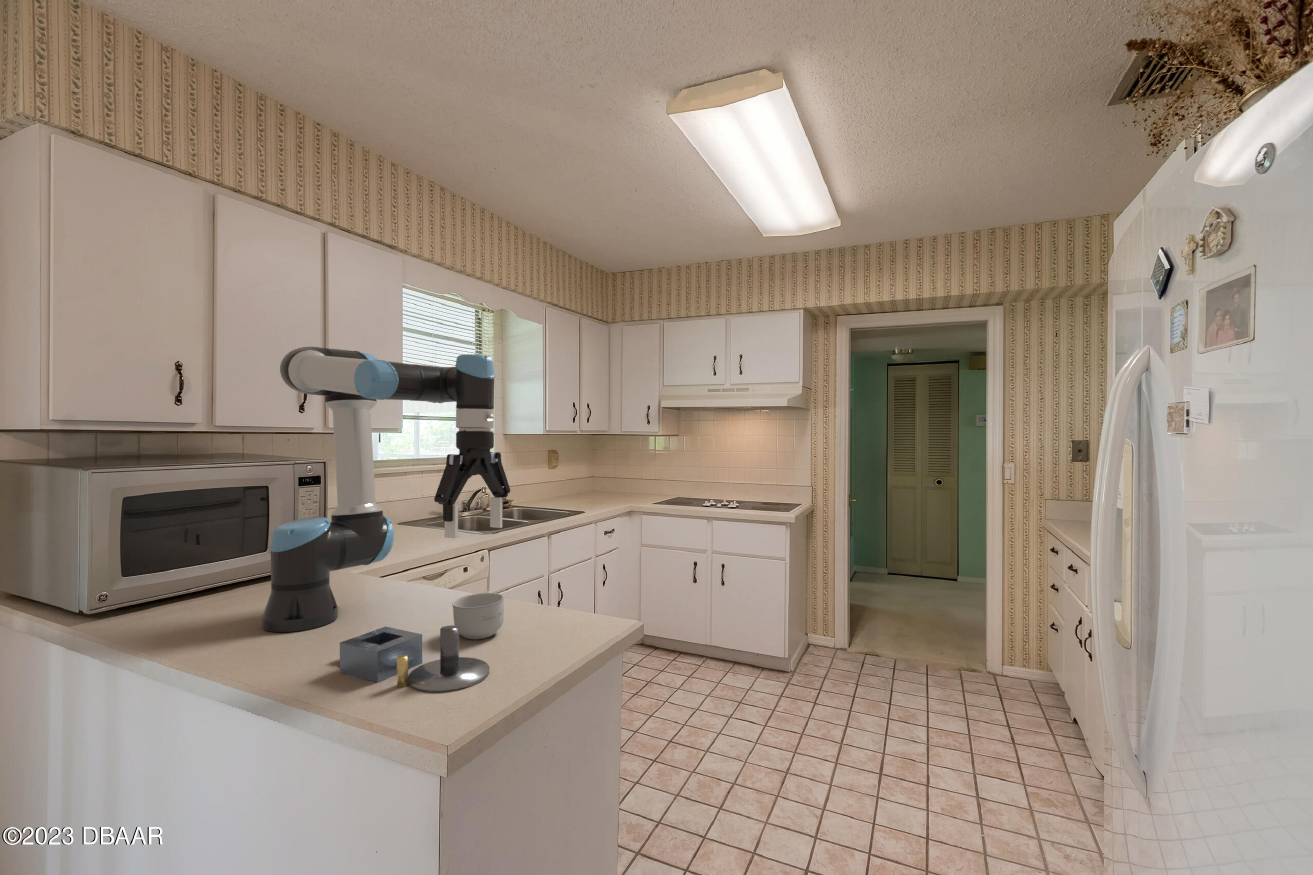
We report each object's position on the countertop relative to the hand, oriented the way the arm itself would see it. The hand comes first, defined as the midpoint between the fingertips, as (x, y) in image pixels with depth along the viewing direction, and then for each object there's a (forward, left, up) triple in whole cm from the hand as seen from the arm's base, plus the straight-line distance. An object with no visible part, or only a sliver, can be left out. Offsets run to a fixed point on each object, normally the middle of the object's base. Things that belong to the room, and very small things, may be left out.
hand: (474, 532), depth 123 cm
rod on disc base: (+7, -14, -23) cm, 28 cm away
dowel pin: (+3, -21, -23) cm, 31 cm away
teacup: (-4, +6, -24) cm, 25 cm away
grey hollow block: (-10, -17, -23) cm, 30 cm away
